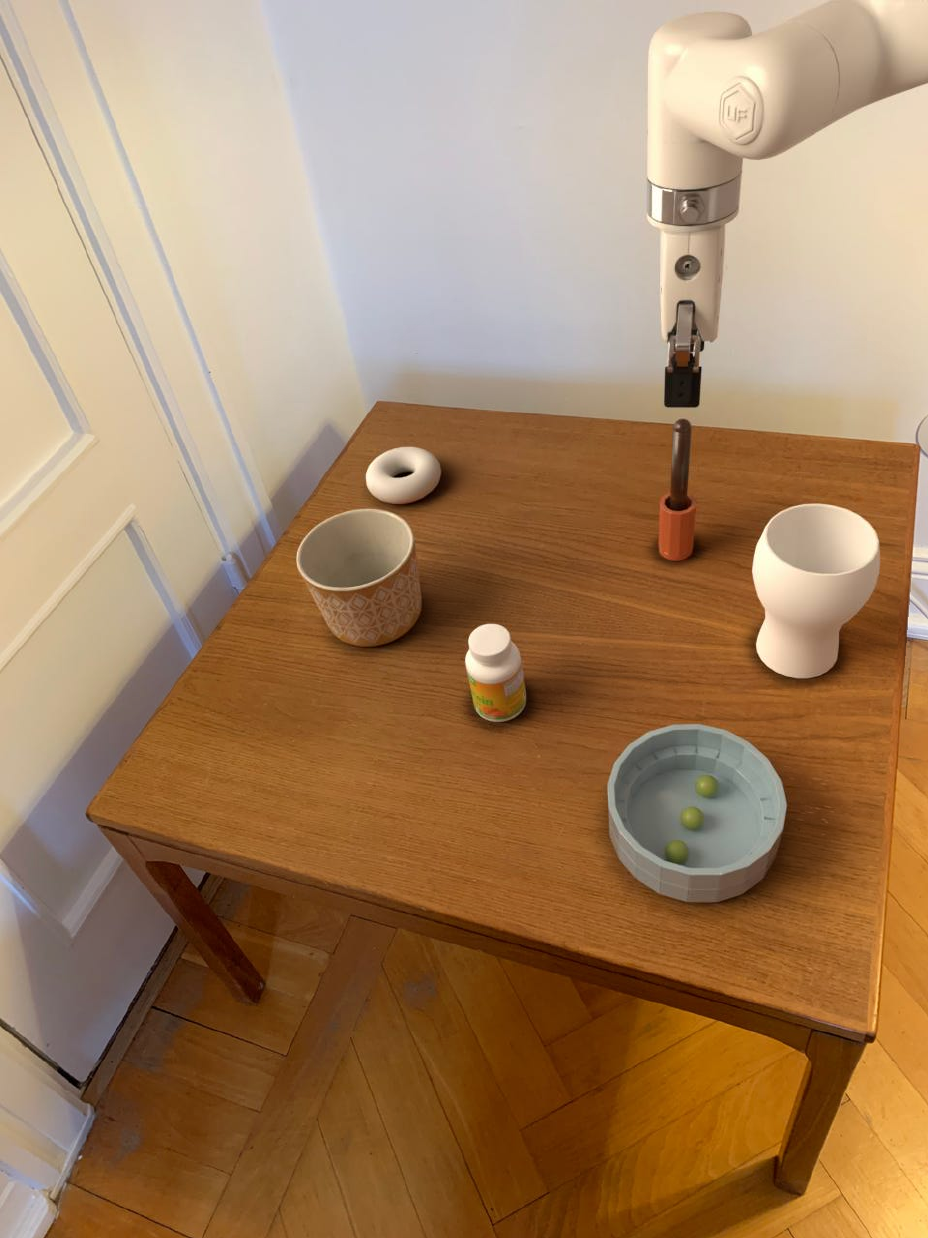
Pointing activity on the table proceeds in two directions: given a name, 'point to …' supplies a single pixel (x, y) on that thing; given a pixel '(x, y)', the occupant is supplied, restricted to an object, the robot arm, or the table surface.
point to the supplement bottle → (495, 673)
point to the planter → (363, 575)
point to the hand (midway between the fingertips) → (684, 377)
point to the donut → (405, 487)
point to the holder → (676, 529)
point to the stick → (680, 464)
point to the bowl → (733, 819)
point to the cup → (811, 584)
